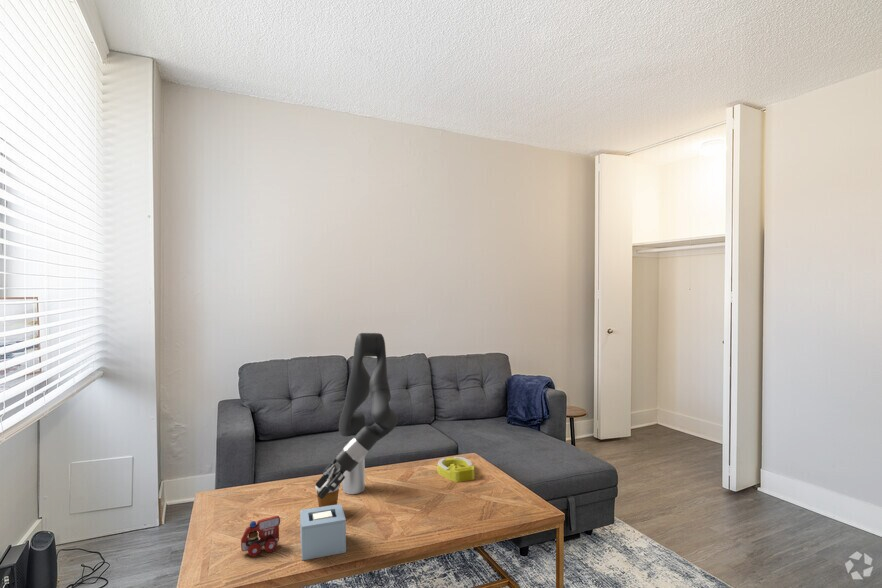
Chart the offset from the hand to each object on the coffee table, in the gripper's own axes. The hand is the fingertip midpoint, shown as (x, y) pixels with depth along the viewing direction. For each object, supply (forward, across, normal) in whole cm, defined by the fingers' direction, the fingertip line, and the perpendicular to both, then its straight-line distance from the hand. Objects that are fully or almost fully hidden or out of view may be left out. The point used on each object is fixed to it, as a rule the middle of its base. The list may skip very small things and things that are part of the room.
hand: (318, 491), depth 160 cm
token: (+12, 0, +14) cm, 18 cm away
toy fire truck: (+27, -5, +1) cm, 27 cm away
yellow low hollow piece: (-33, -44, +62) cm, 82 cm away
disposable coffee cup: (+10, -24, +18) cm, 31 cm away
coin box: (+13, 0, +14) cm, 19 cm away
